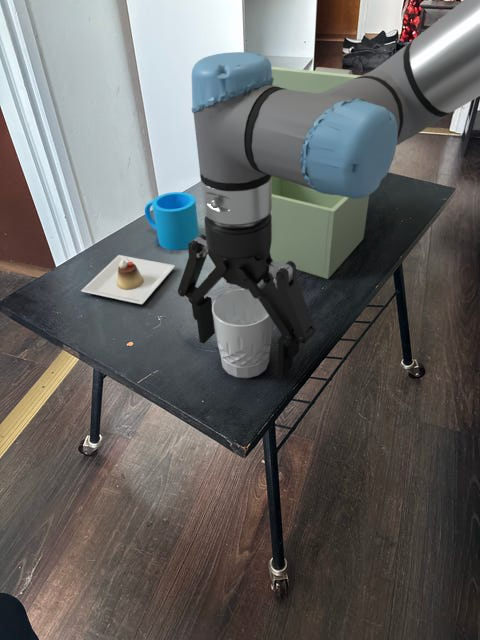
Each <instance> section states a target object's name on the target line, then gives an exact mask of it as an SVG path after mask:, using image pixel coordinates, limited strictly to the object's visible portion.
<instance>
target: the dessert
mask: <svg viewBox="0 0 480 640" xmlns="http://www.w3.org/2000/svg"><path fill="white" fill-rule="evenodd" d="M175 267H176V265H175V264H170V263H165V262H159V261H155V260H148V259H144V258H143V259H142V258H137V257H132V256H127V255H121V254H117V256H116V257H114V259H112V260H111V261H110V262H109V264H107V265H106V266H105V267H104V268H103V269H102V270H101V271H100V272H99V273H98V274H97V275H95V276H94V278H93V279H92V280H90V281H89V282H88V284H86V285H85V286H84V287H83V288H82V289H81V290H80V292H81V293H82V292H83V293H87V294H91V295H96V296H101V297H104V298H110V299H115V300H119V301H123V302H128V303H133V304H137V305H143V304H144V303H145V302H146V301H147V300H148V298H149V297H150V296H151V295H152V294H153V292H155V290H156V289H157V288H158V287H159V286H160V285H161V283H162V282H163V281H164V280H165V279H166V278H167V276H169V274H170V273H171V272H172V270H174V268H175Z"/></svg>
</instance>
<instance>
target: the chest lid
mask: <svg viewBox="0 0 480 640" xmlns="http://www.w3.org/2000/svg"><path fill="white" fill-rule="evenodd" d="M271 68H272V77H273V78H274V80H273V82H274V83H273V84H272V85H273V86H277V87H280V88H285V89H288V90H294V91H301V92H308V93H322V92H324V91H327V90H329V89H331V88H334V87H336V86H338V85H341V84H343V83H346V82H348V81H350V80H353V79H355V78H357V77H360V76H361V75H360V74H353V71H352V69H343V68H333V67H321V66H316V67H315V70H310V69H299V68H291V67H290V68H289V67H280V66H271Z"/></svg>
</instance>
